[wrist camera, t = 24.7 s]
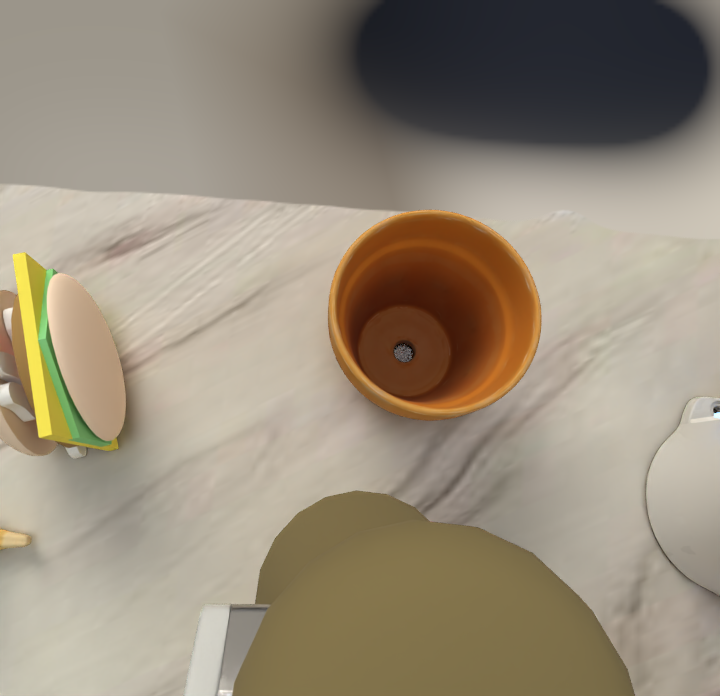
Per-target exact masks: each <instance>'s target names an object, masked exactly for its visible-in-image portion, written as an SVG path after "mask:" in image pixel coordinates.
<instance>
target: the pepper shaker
mask: <svg viewBox="0 0 720 696" xmlns="http://www.w3.org/2000/svg"><path fill="white" fill-rule="evenodd" d="M255 604H271V605H270V606H269V608H268V609H267V611H266V613H265V615H264V618H263V620H262V622H261V624H260V626H259V629H258V631H257V633H256V635H255V637H254V640H253V642H252V644H251V646H250V648H249V650H248V653H247V655H246V657H245V659H244V661H243V664H242V666H241V668H240V670H239V673H238V675H237V677H236V680H235V682H234V687H233V693H232V696H635V694H634V690H633V687H632V683H631V680H630V676H629V673H628V669H627V668H626V666H625V664H624V663H623V661H622V659H621V658H620V656H619V654H618V653H617V651H616V649H615V648H614V646H613V644H612V643H611V641H610V639H609V638H608V636H607V635H606V633H605V631H604V630H603V628H602V626H601V625H600V623H599V621H598V620H597V618H596V616H595V615H594V613H593V611H592V610H591V609H590V608H589V607H588V605H587V604H586V603H585V602H584V601H583V600H582V599H581V598H580V597H579V596H578V595H577V594H576V593H575V592H574V591H573V590H572V589H571V588H570V587H569V586H568V585H567V584H566V583H564V582H563V581H562V580H561V579H560V578H559V577H558V576H557V575H556V574H555V573H554V572H553V571H551V570H550V569H549V568H548V567H547V566H546V565H545V564H544V563H543V562H542V561H541V560H540V559H538V558H537V557H536V556H535V555H534V554H533V553H531V552H529V551H527V550H525V549H523V548H521V547H519V546H517V545H514V544H512V543H510V542H508V541H506V540H504V539H502V538H500V537H497V536H495V535H493V534H491V533H489V532H487V531H485V530H483V529H480V528H478V527H471V526H464V525H455V524H446V523H438V522H430V521H429V520H428V519H427V518H426V517H424V516H423V515H422V514H421V513H420V512H419V511H418V510H417V509H416V508H415V507H413V506H411V505H408V504H406V503H404V502H402V501H400V500H398V499H396V498H394V497H392V496H389V495H387V494H380V493H372V492H363V491H352V492H348V493H343V494H338V495H333V496H329V497H325V498H323V499H322V500H320V501H318V502H316V503H315V504H313V505H311V506H309V507H308V508H306V509H304V510H303V511H301V512H299V513H298V514H297V515H296V516H295V517H294V518H293V519H292V520H291V521H290V522H289V523H288V525H287V526H286V527H285V528H284V529H283V530H282V531H281V532H280V533H279V535H278V536H277V537H276V538H275V539H274V542H273V544H272V546H271V548H270V550H269V552H268V554H267V556H266V559H265V561H264V563H263V565H262V567H261V569H260V575H259V581H258V588H257V595H256V601H255Z"/></svg>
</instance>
